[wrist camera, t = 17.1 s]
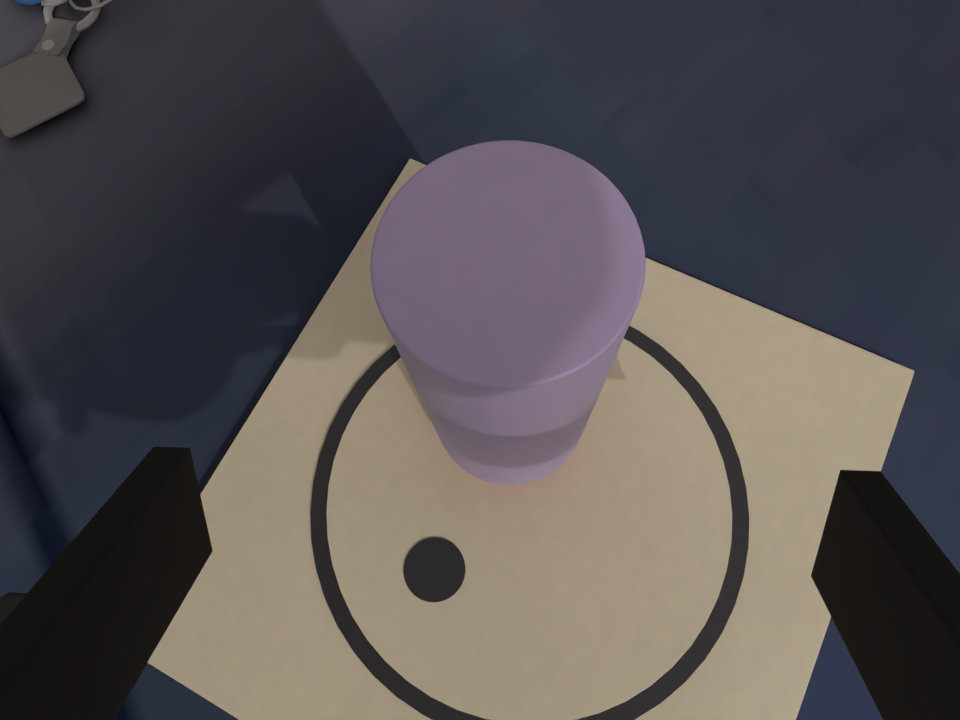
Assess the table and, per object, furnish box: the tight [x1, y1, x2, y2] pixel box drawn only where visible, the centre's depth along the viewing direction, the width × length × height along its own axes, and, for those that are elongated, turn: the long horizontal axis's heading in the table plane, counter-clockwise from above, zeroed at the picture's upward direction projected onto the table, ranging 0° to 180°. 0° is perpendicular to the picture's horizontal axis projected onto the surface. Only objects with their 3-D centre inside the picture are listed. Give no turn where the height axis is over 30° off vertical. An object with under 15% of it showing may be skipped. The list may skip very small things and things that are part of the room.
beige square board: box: [147, 159, 914, 720], centre depth 21 cm, size 18×18×1 cm
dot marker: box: [370, 140, 646, 485], centre depth 16 cm, size 4×4×11 cm
